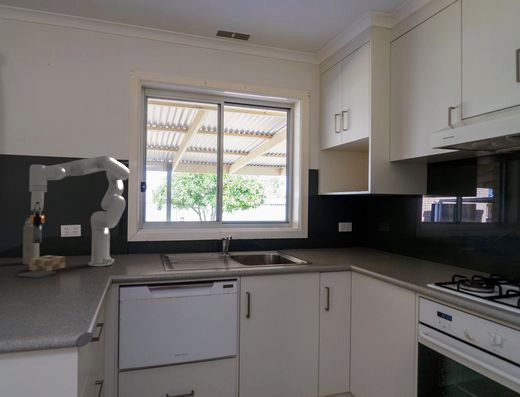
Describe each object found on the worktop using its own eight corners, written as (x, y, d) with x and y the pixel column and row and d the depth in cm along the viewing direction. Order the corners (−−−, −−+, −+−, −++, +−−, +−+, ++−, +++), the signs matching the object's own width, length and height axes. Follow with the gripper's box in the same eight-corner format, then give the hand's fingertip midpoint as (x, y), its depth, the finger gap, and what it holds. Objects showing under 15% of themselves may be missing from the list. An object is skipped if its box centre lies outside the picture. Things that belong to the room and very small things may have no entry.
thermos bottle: (32, 261, 207) (33, 215, 207) (42, 262, 205) (43, 216, 205) (19, 263, 200) (20, 216, 200) (29, 264, 197) (30, 216, 197)
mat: (56, 273, 179) (56, 271, 179) (36, 278, 167) (36, 276, 167) (37, 271, 182) (37, 269, 182) (16, 276, 170) (16, 274, 170)
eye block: (64, 267, 193) (65, 256, 193) (46, 271, 181) (47, 260, 181) (47, 265, 196) (47, 255, 196) (28, 270, 184) (28, 259, 184)
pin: (37, 241, 178) (37, 214, 178) (46, 242, 176) (47, 215, 176) (26, 243, 172) (27, 215, 172) (36, 243, 170) (37, 215, 170)
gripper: (30, 188, 179) (29, 223, 180) (28, 188, 165) (27, 225, 165) (47, 189, 183) (46, 222, 183) (46, 189, 169) (45, 225, 169)
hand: (37, 223), depth 174 cm, fingers closed on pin, 6 cm apart
